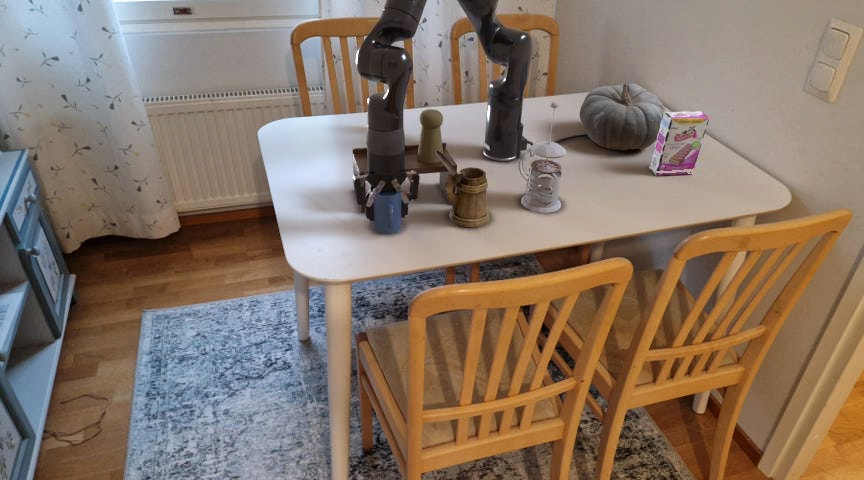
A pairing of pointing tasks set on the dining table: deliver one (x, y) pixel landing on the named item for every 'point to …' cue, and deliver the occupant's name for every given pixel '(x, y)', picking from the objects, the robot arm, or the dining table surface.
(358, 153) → the brown wooden shelf
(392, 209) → the cup
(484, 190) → the wooden mug
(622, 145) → the gourd
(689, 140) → the candy bar box
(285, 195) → the dining table surface
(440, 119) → the olive green peg figure
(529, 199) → the french press
